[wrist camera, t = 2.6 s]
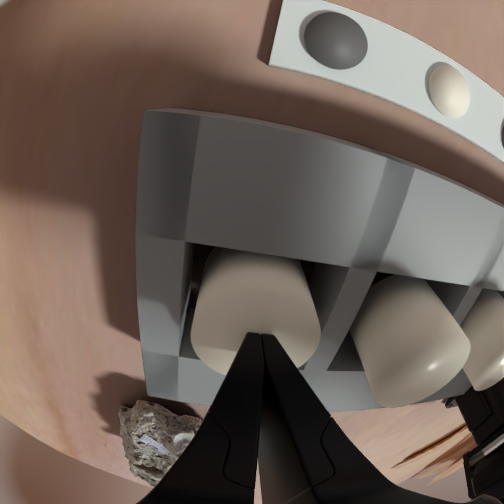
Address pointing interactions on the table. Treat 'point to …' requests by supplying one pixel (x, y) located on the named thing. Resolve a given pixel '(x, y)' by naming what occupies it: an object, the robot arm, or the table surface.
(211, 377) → the button board
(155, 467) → the mineral specimen
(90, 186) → the table surface
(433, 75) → the card
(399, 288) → the button middle
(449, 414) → the table surface
